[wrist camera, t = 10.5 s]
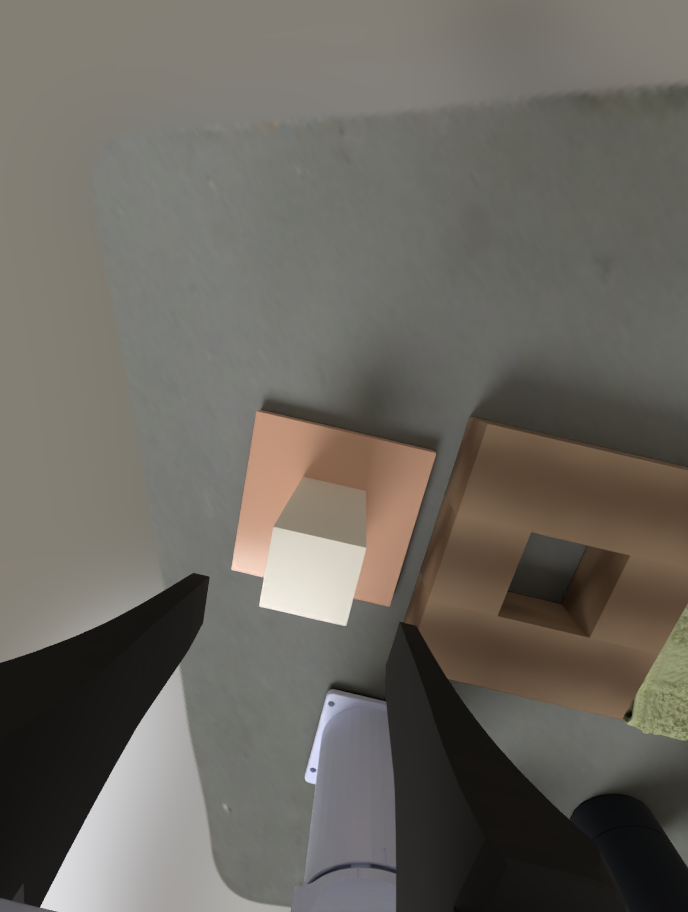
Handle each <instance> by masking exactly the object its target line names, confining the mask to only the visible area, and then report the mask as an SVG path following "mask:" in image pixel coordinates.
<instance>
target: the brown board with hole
mask: <svg viewBox="0 0 688 912" xmlns="http://www.w3.org/2000/svg"><path fill="white" fill-rule="evenodd" d="M531 532H532V533H536V534H540V535H545V536H549V537H553V538H558V539H562V540H566V541H570V542H575V543H579V544H583V545H587V548H586V550H585V553H584V555H583V557H582V559H581V561H580V564H579V566H578V568H577V570H576V572H575V574H574V577H573V579H572V581H571V583H570V585H569V588H568V590H567V592H566V594H565V596H564V599H563V601H562V603H561V604H559V603H554V602H550V601H546V600H542V599H537V598H533V597H529V596H525V595H520V594H516V593H512V592H508V589H509V586H510V584H511V581H512V579H513V576H514V574H515V571H516V569H517V566H518V564H519V562H520V559H521V557H522V554H523V552H524V549H525V547H526V544H527V542H528V539H529V537H530V534H531ZM687 604H688V467H685V466H681V465H676V464H672V463H668V462H664V461H659V460H655V459H651V458H646V457H642V456H638V455H634V454H629V453H625V452H621V451H616V450H612V449H608V448H604V447H599V446H595V445H591V444H586V443H582V442H578V441H574V440H569V439H565V438H561V437H556V436H552V435H548V434H544V433H539V432H535V431H531V430H526V429H522V428H518V427H514V426H509V425H505V424H501V423H496V422H492V421H488V420H484V419H479V418H475V417H471V416H470V418H469V421H468V424H467V427H466V430H465V434H464V437H463V440H462V443H461V446H460V449H459V452H458V455H457V458H456V461H455V465H454V468H453V471H452V474H451V477H450V480H449V483H448V486H447V489H446V493H445V496H444V499H443V502H442V505H441V508H440V511H439V514H438V517H437V521H436V524H435V527H434V530H433V533H432V536H431V539H430V542H429V545H428V548H427V552H426V555H425V558H424V561H423V564H422V567H421V570H420V573H419V576H418V580H417V583H416V586H415V589H414V592H413V595H412V598H411V601H410V604H409V607H408V611H407V614H406V617H405V620H404V623H407V624H411V625H416V626H417V628H418V629H419V631H420V633H421V635H422V636H423V638H424V640H425V642H426V643H427V645H428V647H429V649H430V650H431V652H432V654H433V656H434V657H435V659H436V661H437V662H438V664H439V666H440V667H441V669H442V671H443V672H444V674H445V676H446V677H447V679H450V680H455V681H459V682H463V683H467V684H471V685H476V686H480V687H484V688H488V689H493V690H497V691H501V692H505V693H510V694H514V695H518V696H522V697H526V698H531V699H535V700H539V701H543V702H548V703H552V704H556V705H560V706H565V707H569V708H573V709H577V710H582V711H586V712H590V713H594V714H598V715H603V716H607V717H611V718H615V719H620V720H622V718H623V717H624V715H625V713H626V711H627V710H628V708H629V706H630V704H631V703H632V701H633V699H634V697H635V695H636V694H637V692H638V690H639V688H640V687H641V685H642V683H643V681H644V680H645V678H646V676H647V674H648V673H649V671H650V669H651V667H652V666H653V664H654V662H655V660H656V659H657V657H658V655H659V653H660V651H661V650H662V648H663V646H664V644H665V643H666V641H667V639H668V637H669V636H670V634H671V632H672V630H673V629H674V627H675V625H676V623H677V622H678V620H679V618H680V616H681V615H682V613H683V611H684V609H685V607H686V606H687Z"/></svg>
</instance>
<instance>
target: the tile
mask: <svg viewBox="0 0 688 912" xmlns="http://www.w3.org/2000/svg"><path fill="white" fill-rule="evenodd" d="M435 456H436V452H435V451H434V450H431V449H427V448H422V447H418V446H414V445H410V444H405V443H401V442H397V441H392V440H388V439H384V438H380V437H375V436H371V435H367V434H363V433H358V432H354V431H350V430H345V429H341V428H337V427H333V426H328V425H324V424H320V423H316V422H311V421H307V420H303V419H298V418H294V417H290V416H286V415H281V414H277V413H273V412H269V411H264V410H258V411H257V412H256V418H255V424H254V431H253V437H252V443H251V449H250V456H249V462H248V468H247V475H246V481H245V487H244V493H243V500H242V506H241V512H240V519H239V525H238V531H237V537H236V544H235V550H234V556H233V562H232V569H231V570H235V571H239V572H244V573H248V574H252V575H256V576H261V577H264V576H265V570H266V565H267V559H268V554H269V548H270V543H271V537H272V531H273V526H274V525H275V523H276V521H277V520H278V518H279V516H280V515H281V513H282V511H283V510H284V508H285V506H286V504H287V503H288V501H289V499H290V498H291V496H292V494H293V493H294V491H295V489H296V488H297V486H298V484H299V483H300V481H301V479H302V477H307V478H312V479H316V480H321V481H325V482H329V483H334V484H338V485H343V486H347V487H351V488H356V489H360V490H365V491H366V552H365V556H364V559H363V563H362V567H361V571H360V575H359V578H358V582H357V586H356V590H355V594H354V599H358V600H362V601H367V602H371V603H375V604H379V605H384V606H388V607H390V604H391V600H392V597H393V594H394V591H395V587H396V584H397V581H398V577H399V574H400V571H401V568H402V564H403V561H404V558H405V554H406V551H407V548H408V545H409V541H410V538H411V535H412V532H413V528H414V525H415V522H416V518H417V515H418V512H419V509H420V505H421V502H422V499H423V495H424V492H425V489H426V486H427V482H428V479H429V476H430V472H431V469H432V466H433V463H434V459H435Z"/></svg>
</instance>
